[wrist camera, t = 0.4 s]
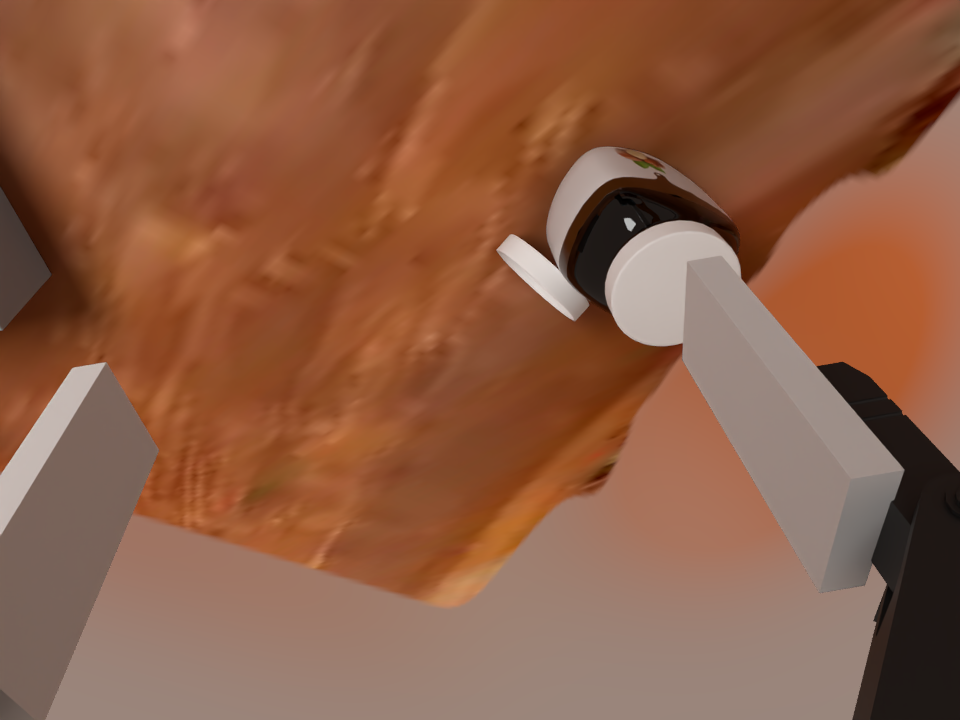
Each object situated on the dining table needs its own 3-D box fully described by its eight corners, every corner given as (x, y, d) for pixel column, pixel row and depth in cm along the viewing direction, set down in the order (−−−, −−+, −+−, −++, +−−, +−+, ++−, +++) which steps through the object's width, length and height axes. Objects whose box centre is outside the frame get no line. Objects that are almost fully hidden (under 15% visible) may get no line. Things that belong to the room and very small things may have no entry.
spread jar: (711, 176, 43) (798, 259, 34) (625, 316, 49) (679, 420, 39) (547, 107, 40) (594, 178, 30) (475, 267, 45) (495, 368, 36)
